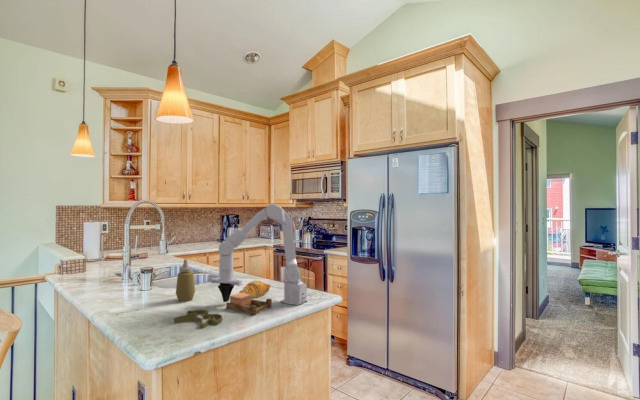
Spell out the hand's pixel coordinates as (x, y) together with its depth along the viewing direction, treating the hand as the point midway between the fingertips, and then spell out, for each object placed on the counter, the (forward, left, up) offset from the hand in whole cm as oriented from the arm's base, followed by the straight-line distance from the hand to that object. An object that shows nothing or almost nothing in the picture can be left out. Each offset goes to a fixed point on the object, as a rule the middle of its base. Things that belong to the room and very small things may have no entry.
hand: (226, 301), depth 143 cm
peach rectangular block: (-8, 0, -1) cm, 8 cm away
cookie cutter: (-6, +19, -2) cm, 20 cm away
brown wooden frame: (-12, 0, -1) cm, 12 cm away
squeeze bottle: (+20, +4, -2) cm, 21 cm away
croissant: (-1, -17, -2) cm, 17 cm away
